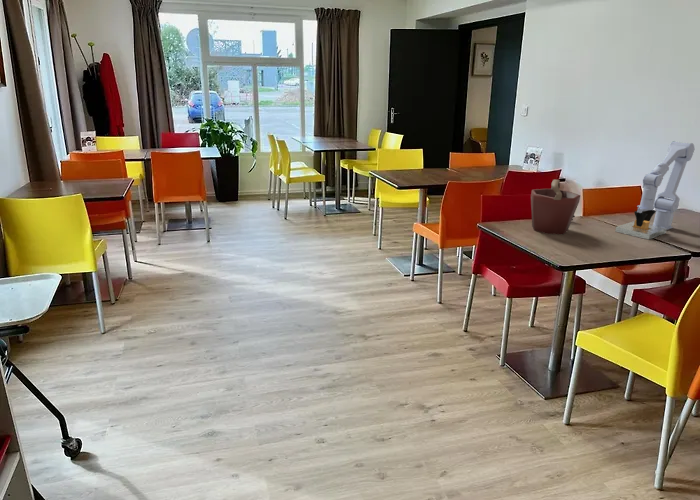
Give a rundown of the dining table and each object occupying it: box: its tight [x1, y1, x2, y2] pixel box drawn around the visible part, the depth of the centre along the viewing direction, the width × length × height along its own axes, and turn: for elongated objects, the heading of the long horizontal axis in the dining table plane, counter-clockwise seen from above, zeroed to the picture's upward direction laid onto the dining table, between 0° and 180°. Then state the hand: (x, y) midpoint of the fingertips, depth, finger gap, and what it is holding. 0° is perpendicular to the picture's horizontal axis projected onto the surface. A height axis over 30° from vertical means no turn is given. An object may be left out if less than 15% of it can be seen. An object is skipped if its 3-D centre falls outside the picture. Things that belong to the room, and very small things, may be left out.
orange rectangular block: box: [634, 219, 651, 230], centre depth 254 cm, size 4×6×6 cm
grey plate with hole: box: [615, 220, 668, 240], centre depth 254 cm, size 20×16×2 cm
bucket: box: [530, 179, 581, 235], centre depth 250 cm, size 24×22×25 cm
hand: (642, 224), depth 253 cm, fingers open, 7 cm apart
